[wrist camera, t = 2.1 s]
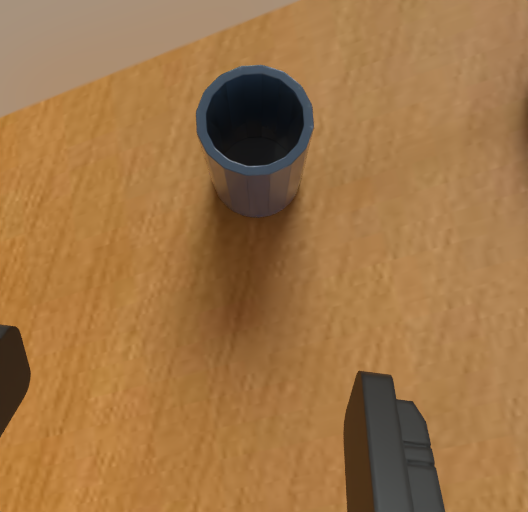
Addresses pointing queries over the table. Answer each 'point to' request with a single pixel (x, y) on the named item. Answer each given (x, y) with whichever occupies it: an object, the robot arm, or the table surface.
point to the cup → (255, 138)
